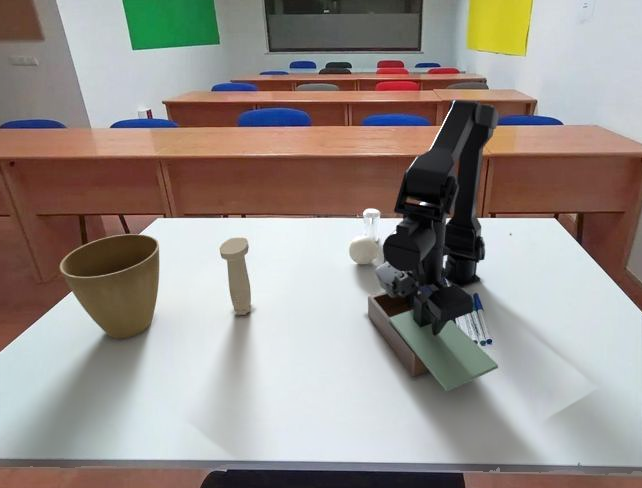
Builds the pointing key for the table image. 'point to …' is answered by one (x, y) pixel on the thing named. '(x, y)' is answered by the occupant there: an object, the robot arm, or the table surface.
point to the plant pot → (116, 281)
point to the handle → (237, 273)
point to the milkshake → (371, 223)
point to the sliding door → (442, 346)
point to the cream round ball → (363, 250)
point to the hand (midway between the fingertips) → (422, 320)
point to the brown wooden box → (380, 313)
